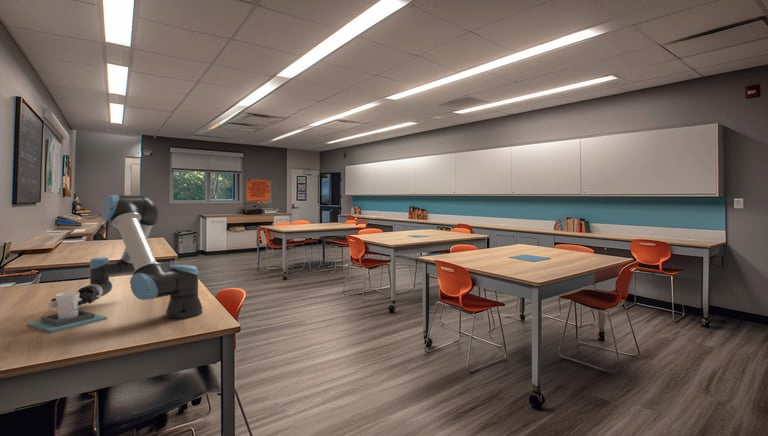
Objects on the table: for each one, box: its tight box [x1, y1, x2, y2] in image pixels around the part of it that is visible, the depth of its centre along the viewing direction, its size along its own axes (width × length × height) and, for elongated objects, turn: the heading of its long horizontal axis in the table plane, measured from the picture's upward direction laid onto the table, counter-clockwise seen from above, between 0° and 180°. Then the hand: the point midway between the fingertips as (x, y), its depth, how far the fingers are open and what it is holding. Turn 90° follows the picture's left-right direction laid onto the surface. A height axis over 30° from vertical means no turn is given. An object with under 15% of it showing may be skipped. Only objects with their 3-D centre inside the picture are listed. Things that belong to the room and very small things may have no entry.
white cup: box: [55, 291, 80, 319], centre depth 162 cm, size 8×8×10 cm
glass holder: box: [26, 309, 108, 334], centre depth 162 cm, size 20×20×3 cm
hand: (61, 305), depth 157 cm, fingers closed on white cup, 7 cm apart
